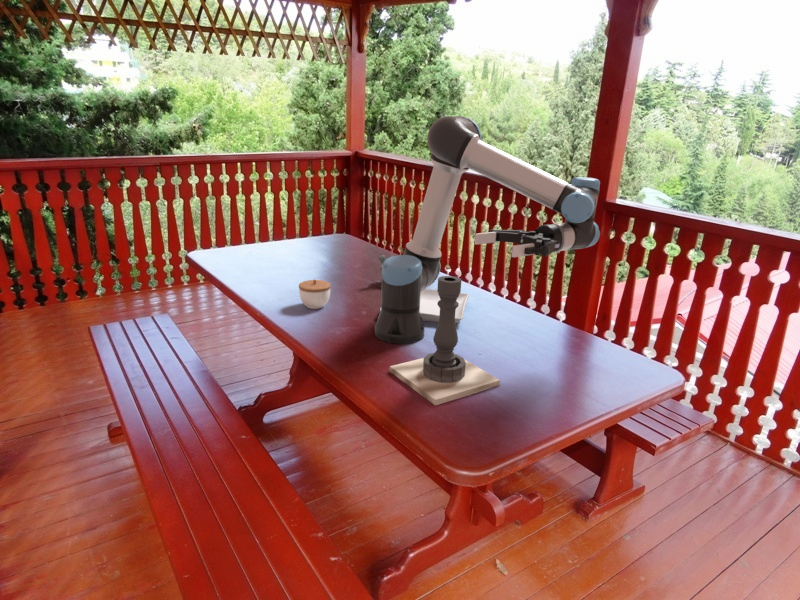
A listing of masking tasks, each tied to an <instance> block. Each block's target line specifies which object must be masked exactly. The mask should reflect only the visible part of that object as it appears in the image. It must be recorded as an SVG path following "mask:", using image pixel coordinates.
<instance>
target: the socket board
mask: <svg viewBox="0 0 800 600" xmlns="http://www.w3.org/2000/svg"><path fill="white" fill-rule="evenodd" d="M434 353H435V352H432V353H431V352H430V353H428V354H426V356H424V357H422V358H421V357H420V358H418V359H414V360H409V361H406V362H403V363H402V362H401V363H398V364H394V365H390V366H389V373H391V374H392V375H394V376H395V378H398V379H399V380H400V381H401V382H403V383H404V384H406V385H408V386H409V388H411V389H412V390H414V391H415V392H416V393H418V394H419V395H420V396H422V398H425V400H426V401H428V402H430V403H431V404H432V405H434V406H435V407H436V406H439V405H441V404H445V403H448V402H451V401H455V400H458V399H461V398H464V397H467V396H470V395H474V394H476V393H480V392H482V391H486V390H489V389H493V388H496V387H499V386H500V379H498V378H497V377H495V376H493V375H492V374H490V373H489V372H487V371H485V370H483V369H481V368H480V367H478V366H476V365H475V364H473V363H471V362H470V361H468V360H467V359H465V358H464V357H462V356H460V355H459V354H456V353H455V352H454V354H455V355H456V358H455V360H456V367H452V368H442V367H438V366H434V365H433V364H432V359H433V358H434V357H433V355H434Z"/></svg>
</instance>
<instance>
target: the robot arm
mask: <svg viewBox="0 0 800 600" xmlns="http://www.w3.org/2000/svg"><path fill="white" fill-rule="evenodd" d="M481 132H482V131H481V129H480V127H479V126H478V124H477V123H476V122H475V121H474V120H473V119H471V118H468V117H466V116H462V115H455V116H452V115H451V116H450V115H449V116H448V115H447V116H443V117H440V118H438V119H436V121H434V122H433V123H432V124H431V125H430V127H429V130H428V132H427V139H426V141H427V145H428V148H429V150H430V152H431V156H430V161H431V162H432V164H433V167H432V171H431V174H430V178H429V181H428V185H427V189H426V193H425V196H424V198H423V202H422V206H421V209H420V212H419V217H418V219H417V223H416V227H415V229H414V233H413V237H412V240H411V241H409V242H407V243H406V244H405V248H404V251H403V254H398V255H396V256H394V255H392V256H390V257H388V258H386V260H385V261H384V263H383V266H382V272H381V271H380V274H381V275H380V276H381V291H380V292H381V296H380V297H381V298H380V299H381V301H380V303H381V304H380V306H381V307H380V308H381V311H380V310H379V315H378V317H377V319H376V320H377V321H376V323H375V325H374V335H375V337H376V338H377V339H378V340H381V341H383V342H387V343H392V344H411V343H416V342H418V341H420V340H422V339H423V338H424V337H425V325H424V320H422V317H421V314H420V294H421V292H422V291H423V290H424V289H428V287H430V286H431V285H433V284H434V282H435V281H436V280H438V278H439V275H440V272H441V262H440V261H441V259H442V255H443V254H442V251H441V249H440V245H441V242H442V239H443V235H444V233H445V229H446V227H447V226H446V225H447V222H448V219H449V216H450V214H451V211H452V210H451V209H452V207H453V203H454V200H455V197H456V194H457V190H458V187H459V184H460V181H461V178H462V175H463V174H464V173H466V172H467V171H469V170H472V171H474V172H476V173H477V174H479V175H482V176H484V177H485V178H488V179H490V180H492V181H493V182H496V183H499V184H500V185H502V186H504V187H506V188H508V189H510V190H513V191H514V192H516V193H519V194H521V195H522V196H525V197H526V198H528V199H530V200H533V201H535V202H536V203H538V204H541V205H543V206H544V207H547V209H548V208H549V209H550V210H552V211H555V212H556V213H557V214H560V215H562V216H563V218H564V219H565V220H564V222H557V223H552V224H550V223H548V224H542V225H539V226H538V227H537V228H536V229H535V230H529V231H525V230H524V229H516V230H513V229H493V228H491V229H489V232H488V231H487V232H479V233H475V235H474V245H485V244H495V243H496V242H502V243H513V244H515V245H512V247H511V248H512V249H511V256H510V257H511V258H519V257H520V258H522V257H526V256H533V255H535V256H540V255H541V257H543V258H547V257H548V256H549V255H551V254H553V253H555V252H556V253H557V254H561V253H560V252H563V251H565V252H566V251H569V250H583V249H586V248H589V247H593V246H594V245H596V243H598V241H599V239H600V236H601V231H600V228H599V225H598V224H597V222H595V216H596V212H597V211H596V210H597V206H598V199H599V195H600V185H601V181H600V180H599V179H598V178H594V177H585V176H583V177H582V176H578V177H577V176H575V177H573V178H572V179H571V183H569V182H567V181H564V180H563V179H561V178H558V177H556V176H554V175H552V174H550V173H548V172H546V171H544V170H543V169H540V168H538V167H536V166H534V165H531V164H529V163H528V162H525V161H523V160H522V159H519V158H517V157H515V156H513V155H511V154H510V153H507V152H505V151H504V150H501V149H499V148H497V147H494V146H492V145H491V144H488V143H486V142H485V141H483V140H482V133H481Z"/></svg>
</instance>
